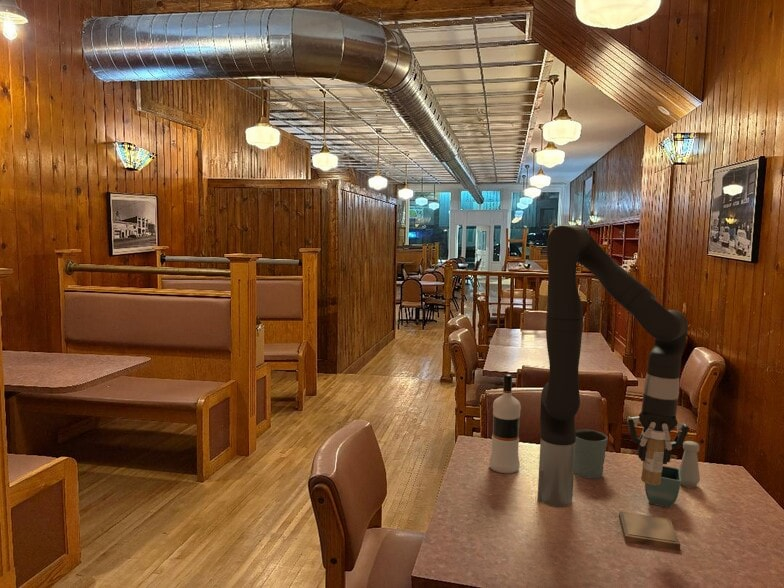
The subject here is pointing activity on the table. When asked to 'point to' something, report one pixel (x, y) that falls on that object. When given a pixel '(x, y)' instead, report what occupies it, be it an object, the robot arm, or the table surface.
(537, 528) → the table surface
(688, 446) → the salt shaker
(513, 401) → the vodka
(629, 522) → the brown rectangular tray
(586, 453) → the green round cup
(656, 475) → the sprinkles bottle
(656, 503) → the flower pot
